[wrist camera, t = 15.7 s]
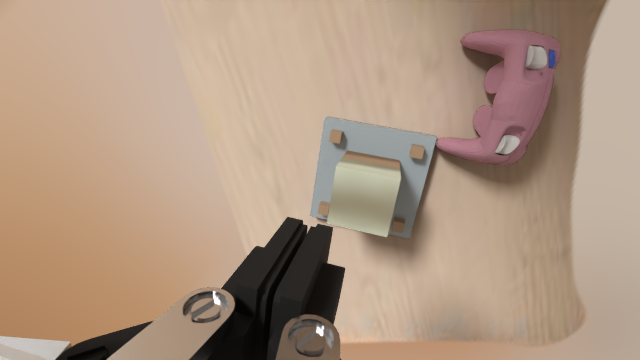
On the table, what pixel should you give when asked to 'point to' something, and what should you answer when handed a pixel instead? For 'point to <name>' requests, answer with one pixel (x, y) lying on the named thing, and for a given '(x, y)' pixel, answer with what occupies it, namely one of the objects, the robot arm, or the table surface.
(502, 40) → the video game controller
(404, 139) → the board
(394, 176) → the block stack
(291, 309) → the robot arm
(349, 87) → the table surface
